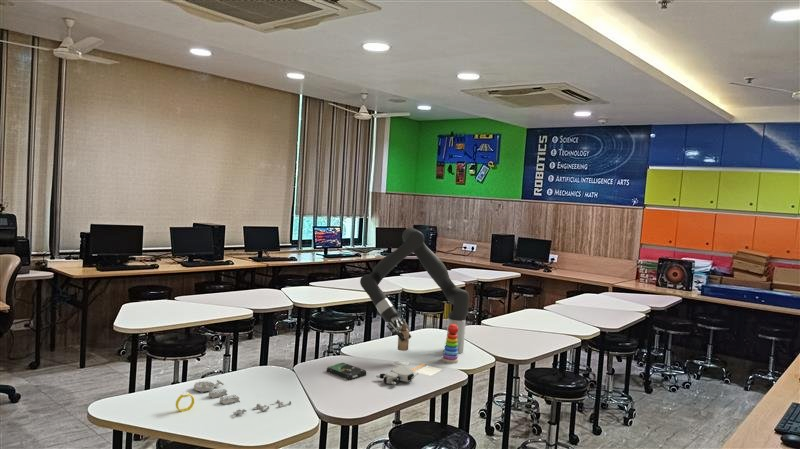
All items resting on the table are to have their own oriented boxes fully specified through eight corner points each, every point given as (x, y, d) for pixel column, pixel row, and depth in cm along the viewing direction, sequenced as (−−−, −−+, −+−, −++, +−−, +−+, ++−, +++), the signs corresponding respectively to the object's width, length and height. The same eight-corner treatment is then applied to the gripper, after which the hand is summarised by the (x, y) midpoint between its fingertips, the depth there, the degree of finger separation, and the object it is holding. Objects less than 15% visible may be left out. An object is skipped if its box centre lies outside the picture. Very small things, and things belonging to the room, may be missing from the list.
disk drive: (366, 376, 233) (342, 367, 242) (367, 370, 233) (342, 361, 242) (350, 382, 225) (325, 372, 234) (350, 375, 225) (326, 366, 234)
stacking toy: (453, 365, 257) (456, 326, 256) (438, 361, 261) (441, 323, 260) (460, 361, 263) (463, 324, 263) (446, 358, 268) (449, 321, 267)
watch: (178, 414, 181) (177, 397, 180) (174, 411, 183) (174, 395, 182) (195, 409, 185) (195, 392, 185) (191, 406, 187) (191, 390, 187)
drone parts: (245, 379, 220) (246, 372, 220) (293, 408, 196) (294, 399, 196) (190, 389, 204) (191, 380, 204) (236, 421, 179) (237, 411, 179)
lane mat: (398, 358, 261) (398, 357, 261) (444, 369, 249) (444, 368, 249) (382, 365, 248) (382, 364, 248) (430, 378, 236) (430, 376, 236)
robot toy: (394, 391, 219) (419, 381, 230) (394, 380, 219) (419, 371, 229) (374, 382, 228) (399, 373, 238) (374, 372, 227) (399, 363, 238)
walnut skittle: (400, 347, 256) (402, 322, 255) (410, 349, 253) (411, 324, 253) (395, 349, 252) (397, 324, 251) (404, 351, 249) (406, 326, 249)
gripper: (384, 307, 249) (404, 337, 244) (399, 303, 261) (419, 331, 256) (373, 316, 252) (394, 346, 247) (389, 312, 264) (409, 340, 259)
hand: (406, 339), depth 251 cm, fingers closed on walnut skittle, 5 cm apart
